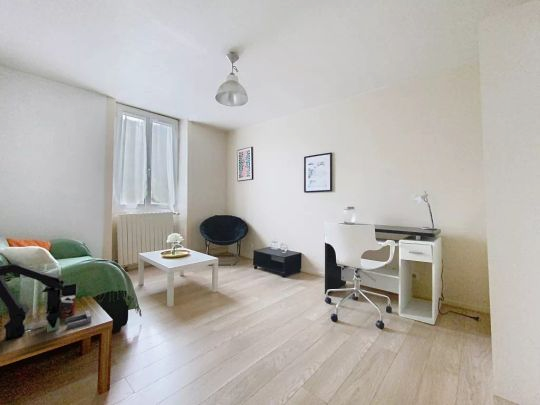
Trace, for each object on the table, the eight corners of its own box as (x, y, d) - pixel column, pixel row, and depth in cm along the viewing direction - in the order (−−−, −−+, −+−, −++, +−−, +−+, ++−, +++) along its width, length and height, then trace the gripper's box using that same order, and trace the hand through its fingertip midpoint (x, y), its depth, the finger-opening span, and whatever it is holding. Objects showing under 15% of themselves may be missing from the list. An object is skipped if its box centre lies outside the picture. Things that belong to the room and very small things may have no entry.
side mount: (66, 329, 133) (67, 322, 133) (65, 322, 140) (65, 315, 140) (91, 322, 141) (91, 315, 141) (88, 316, 148) (88, 310, 148)
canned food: (56, 319, 144) (56, 301, 144) (62, 313, 151) (62, 296, 151) (72, 317, 147) (72, 299, 147) (77, 311, 154) (77, 294, 154)
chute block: (47, 331, 130) (47, 319, 130) (47, 328, 133) (47, 315, 133) (59, 328, 133) (59, 316, 133) (58, 325, 137) (59, 313, 137)
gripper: (74, 299, 132) (73, 327, 132) (70, 290, 146) (70, 315, 146) (46, 305, 125) (46, 334, 125) (45, 294, 138) (45, 321, 138)
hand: (53, 325), depth 133 cm, fingers closed on chute block, 5 cm apart
